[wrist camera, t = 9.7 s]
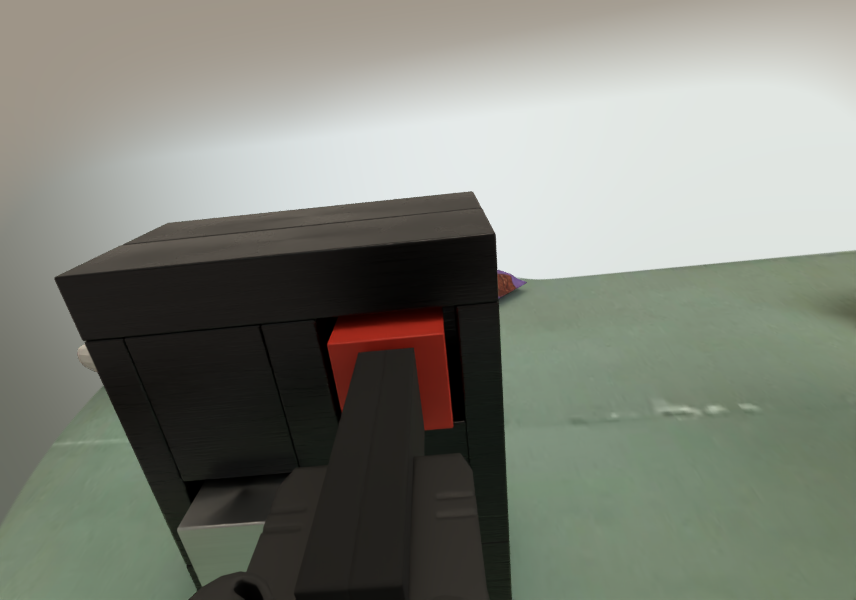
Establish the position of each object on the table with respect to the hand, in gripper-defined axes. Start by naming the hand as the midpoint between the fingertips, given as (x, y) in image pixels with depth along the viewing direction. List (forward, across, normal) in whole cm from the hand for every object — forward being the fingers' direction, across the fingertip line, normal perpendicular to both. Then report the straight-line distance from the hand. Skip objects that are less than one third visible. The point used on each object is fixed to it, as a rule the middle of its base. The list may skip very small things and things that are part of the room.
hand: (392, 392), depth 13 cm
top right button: (+2, 0, -2) cm, 2 cm away
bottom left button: (+1, -6, -7) cm, 9 cm away
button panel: (+4, -3, -12) cm, 13 cm away
